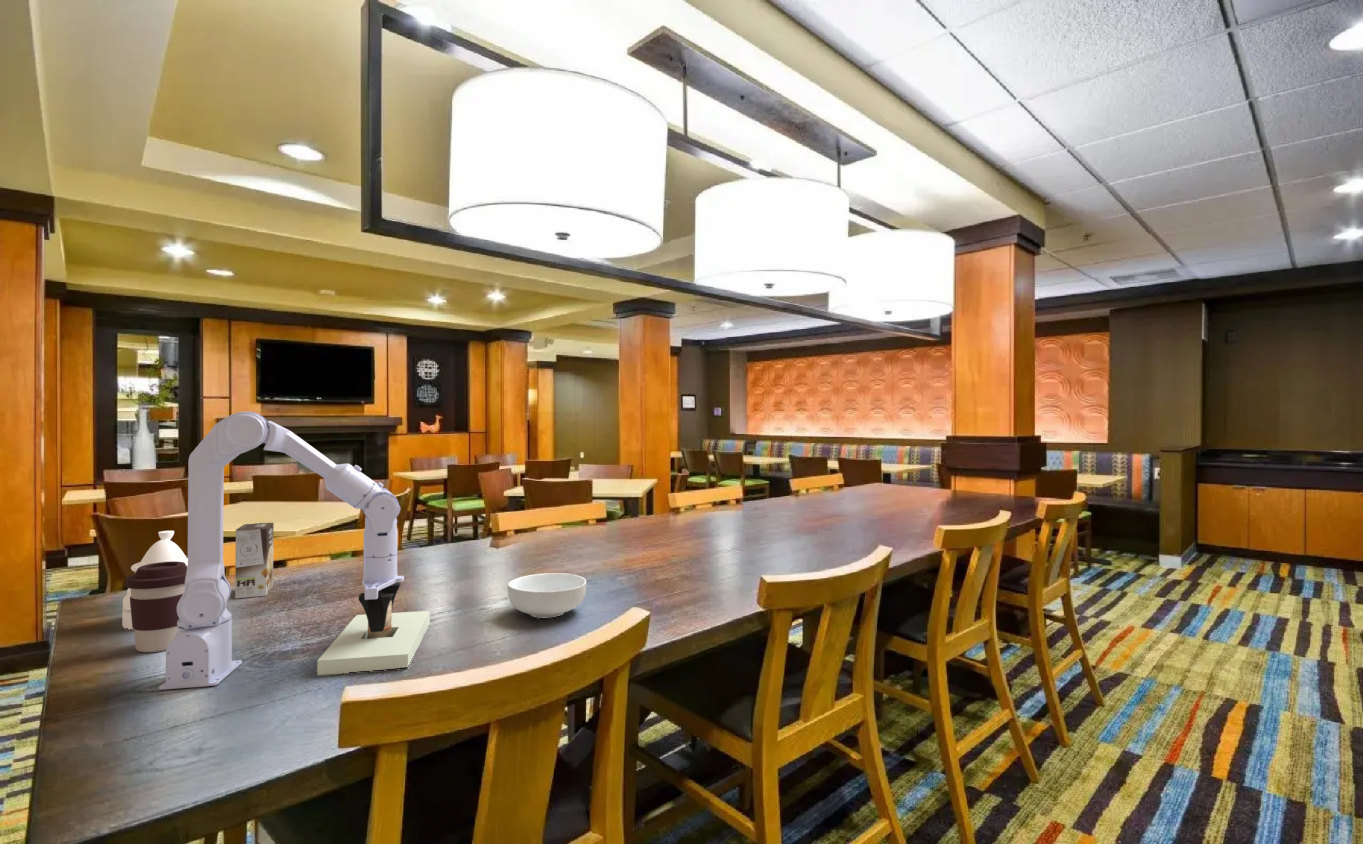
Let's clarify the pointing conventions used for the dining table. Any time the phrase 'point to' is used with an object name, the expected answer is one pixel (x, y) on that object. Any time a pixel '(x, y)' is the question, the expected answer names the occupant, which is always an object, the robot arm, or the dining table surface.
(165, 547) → the honey pot
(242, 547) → the coffee box
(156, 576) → the coffee cup
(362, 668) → the board
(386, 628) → the peg
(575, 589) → the cereal bowl
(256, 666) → the dining table surface
